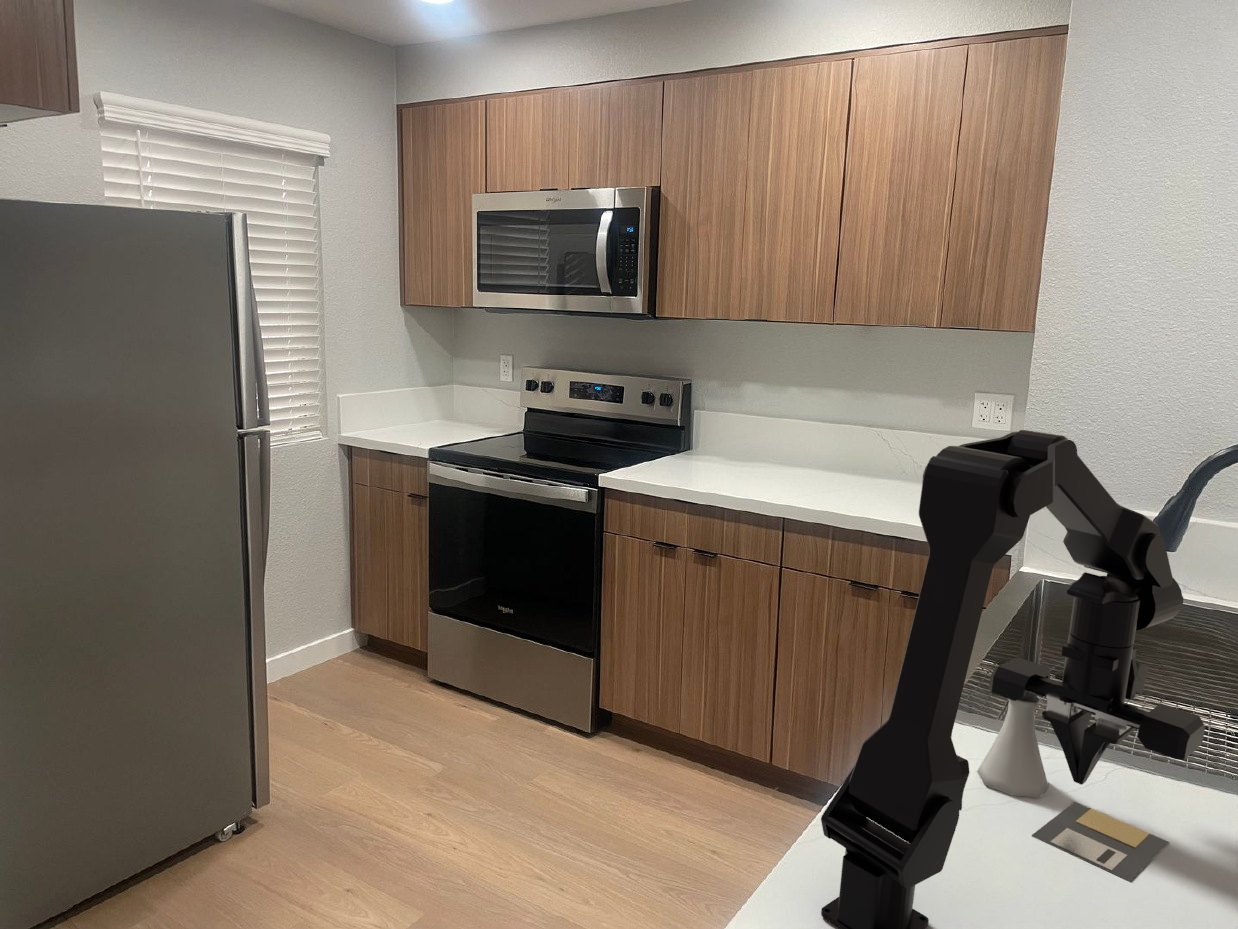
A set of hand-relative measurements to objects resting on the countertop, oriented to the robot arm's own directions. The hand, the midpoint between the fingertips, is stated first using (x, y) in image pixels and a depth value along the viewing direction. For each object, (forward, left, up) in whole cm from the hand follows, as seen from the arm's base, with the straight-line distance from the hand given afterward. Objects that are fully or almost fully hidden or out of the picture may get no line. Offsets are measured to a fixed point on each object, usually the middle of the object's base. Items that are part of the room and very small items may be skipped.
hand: (1079, 782), depth 93 cm
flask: (+1, +7, -4) cm, 8 cm away
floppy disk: (-3, -4, -3) cm, 6 cm away
